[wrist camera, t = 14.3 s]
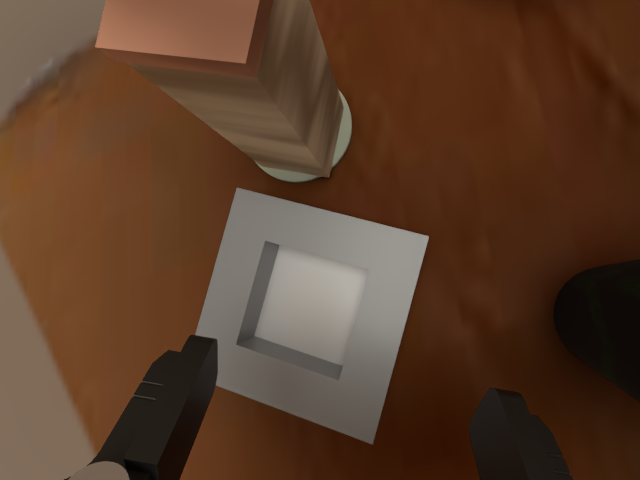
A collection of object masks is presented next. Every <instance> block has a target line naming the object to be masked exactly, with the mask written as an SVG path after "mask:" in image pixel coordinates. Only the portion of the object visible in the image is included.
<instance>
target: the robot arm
mask: <svg viewBox="0 0 640 480" xmlns="http://www.w3.org/2000/svg"><path fill="white" fill-rule="evenodd" d="M217 375H218V341H217V339H215V338H209V337H203V336H197V335H190V336H189V338H188V339H187V341H186V343H185V345H184V347H183V349H182V351H181V352H177V351H171V350H168V351H167V352H165V353H164V354H163V355H162V356H161V357H159V358H158V359H157V360H156V361H155V362H153V363H152V365H151V367H150V368H149V370H148V372H147V373H146V375H145V377H144V378H143V381H142V383H140V385H139V387H138V388H137V390H136V392H135V393H134V397H132V398H131V400H130V402H129V403H128V405H127V407H126V408H125V410H124V412H123V413H122V415H121V417H120V418H119V420H118V422H117V423H116V425H115V427H114V428H113V430H112V432H111V433H110V435H109V437H108V438H107V440H106V442H105V443H104V445H103V447H102V448H101V450H100V452H99V453H98V454H97V456H96V457H95V458H94V459H93V460H92V462H91V463H89V464H88V465H87V466H86V467H84V468H82V469H81V470H79V471H78V472H76V473H75V474H74V475H73V476H71V477H69V478H67V479H64V480H179V479H180V477H181V474H182V472H183V469H184V467H185V464H186V462H187V459H188V456H189V454H190V451H191V449H192V446H193V444H194V441H195V439H196V436H197V434H198V431H199V428H200V426H201V423H202V421H203V418H204V416H205V413H206V411H207V408H208V405H209V403H210V400H211V398H212V395H213V392H214V389H215V386H216V381H217ZM470 441H471V445H472V449H473V453H474V457H475V461H476V465H477V469H478V473H479V477H480V480H573V478H572V476H570V475H569V472H570V471H569V469H568V467H567V465H566V462H565V460H564V459H562V454H561V451H560V449H559V447H558V445H557V442H556V440H555V438H554V436H553V434H552V433H551V432H550V430H549V429H548V428H547V427H546V425H545V424H544V423H543V422H542V420H541V419H540V418H539V417H538V416H536V415H530V413H529V410H528V408H527V405H526V403H525V401H524V399H523V397H522V395H521V394H520V393H518V392H513V391H507V390H501V389H496V388H490V389H489V390H488V391H487V393H486V394H485V396H484V398H483V400H482V401H481V403H480V405H479V406H478V408H477V410H476V412H475V413H474V415H473V417H472V419H471V422H470Z"/></svg>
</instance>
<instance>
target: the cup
mask: <svg viewBox="0 0 640 480" xmlns="http://www.w3.org/2000/svg"><path fill="white" fill-rule="evenodd" d="M554 320H555V326H556V330H557V332H558V334H559V336H560V338H561V340H562V342H563V343H564V344H565V345H566V347H567V348H568V349H569V350H570V351H571V352H572V353H573V354H575V355H576V356H577V357H578V358H579V359H581V360H582V361H583V362H585V363H586V364H588V365H589V366H590V367H592V368H593V369H595V370H596V371H597V372H599V373H600V374H601V375H603V376H604V377H606V378H607V379H608V380H610V381H611V382H612V383H614V384H615V385H617V386H618V387H619V388H621V389H622V390H623V391H625V392H626V393H628V394H629V395H630V396H632V397H633V398H634V399H636V400H637V401H639V402H640V259H638V260H633V261H628V262H622V263H617V264H611V265H606V266H601V267H596V268H592V269H587V270H585V271H583V272H581V273H579V274H577V275H575V276H574V277H573V278H571V279H570V280H569V281H568V282H567V283H566V284H565V285H564V287H563V288H562V289H561V291H560V292H559V294H558V297H557V300H556V302H555V308H554Z"/></svg>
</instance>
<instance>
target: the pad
mask: <svg viewBox="0 0 640 480" xmlns="http://www.w3.org/2000/svg"><path fill="white" fill-rule="evenodd" d="M338 91H339V90H338ZM339 94H340V97H341V100H342V103H343V107H344V110H343V115H342V120H341V125H340V129H339V134H338V139H337V144H336V148H335V153H334V158H333V163H332V167H331V170H332V169H333V168H334V167H336V166H337V164H338V163H339V162H340V161H341V160H342V158H343V157H344V155H345V153H346V151H347V149H348V147H349V144H350V141H351V136H352V118H351V113H350V110H349V107H348V104H347V102H346V100H345V98H344V96H343V95H342V93H341V92H340V91H339ZM255 162H256V161H255ZM256 163H257V162H256ZM257 164H258V163H257ZM258 166H259V167H260V168H261V169H263V170H264V171H265V172H266V173H268V174H269V175H271V176H272V177H274V178H276V179H278V180H281V181H284V182H290V183H304V182H309V181H313V180H315V179H318V178H320V177H321V176H315V175H309V174H303V173H297V172H291V171H285V170H279V169H273V168H267V167H262V166H261V165H259V164H258Z"/></svg>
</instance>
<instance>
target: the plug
mask: <svg viewBox="0 0 640 480" xmlns="http://www.w3.org/2000/svg"><path fill="white" fill-rule="evenodd" d="M95 48H97V49H98V50H99V51H101V52H102V53H104V54H105V55H106V56H108V57H109V58H110V59H112V60H113V61H114V62H121V63H128V64H129V65H130V66H131V67H133V68H134V69H135V70H137V71H138V72H139V73H141V74H142V75H143V76H145V77H146V78H147V79H148V80H150V81H151V82H152V83H154V84H155V85H156V86H158V87H159V88H160V89H162V90H163V91H164V92H165V93H167V94H168V95H169V96H171V97H172V98H173V99H175V100H176V101H177V102H178V103H180V104H181V105H182V106H184V107H185V108H186V109H188V110H189V111H190V112H192V113H193V114H194V115H195V116H197V117H198V118H199V119H201V120H202V121H203V122H205V123H206V124H207V125H209V126H210V127H211V128H212V129H214V130H215V131H216V132H218V133H219V134H220V135H222V136H223V137H224V138H226V139H227V140H228V141H229V142H231V143H232V144H233V145H235V146H236V147H237V148H239V149H240V150H241V151H242V152H244V153H245V154H246V155H248V156H249V157H250V158H252V159H253V160H254V161H256V162H257V163H258V164H259V165H261V166H262V167H267V168H273V169H279V170H285V171H291V172H297V173H303V174H309V175H315V176H321V177H327V178H329V177H330V172H331V167H332V163H333V158H334V153H335V148H336V144H337V139H338V134H339V129H340V125H341V120H342V115H343V110H344V107H343V103H342V100H341V97H340V94H339V91H338V88H337V85H336V82H335V79H334V75H333V72H332V69H331V66H330V63H329V60H328V57H327V54H326V50H325V47H324V44H323V41H322V38H321V35H320V32H319V29H318V26H317V22H316V19H315V16H314V13H313V10H312V7H311V4H310V1H309V0H106V3H105V8H104V11H103V16H102V20H101V24H100V29H99V33H98V37H97V41H96V46H95Z"/></svg>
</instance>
